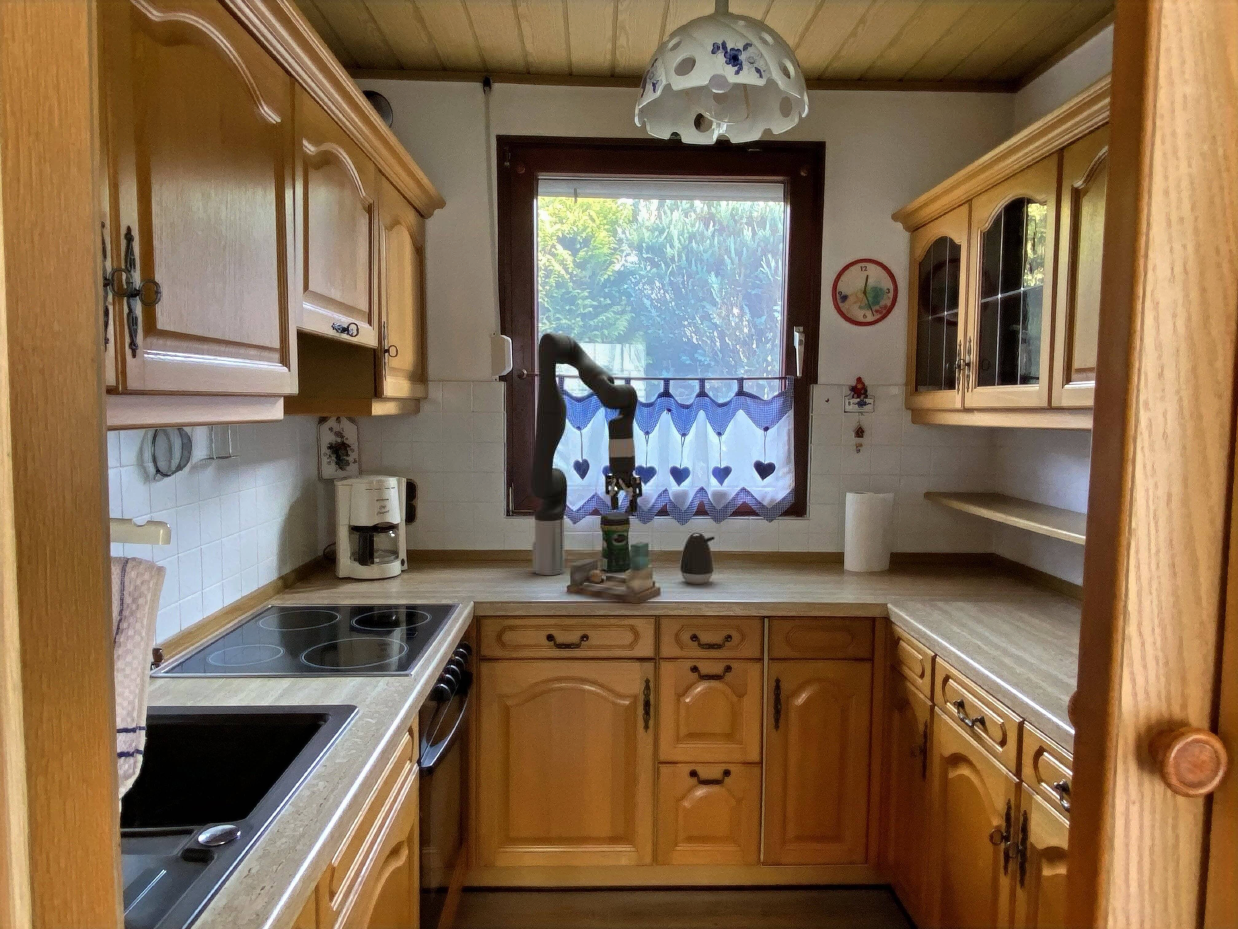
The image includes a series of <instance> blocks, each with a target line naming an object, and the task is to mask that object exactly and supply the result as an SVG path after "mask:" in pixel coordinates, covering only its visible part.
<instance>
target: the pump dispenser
mask: <svg viewBox="0 0 1238 929" xmlns="http://www.w3.org/2000/svg"><path fill="white" fill-rule="evenodd" d="M714 540H715V536H714V535H713V536H712V535H711V536H708V537H705V535H704V534H702V533H701V532H693V533H691V534H690V535H689V536H688V538H687V539H686V541H685V544H684V546H683V549H682V552H681V556H680V562H679V571H680V574H681V576H682V579H683V580H684V581H685V583H686V582H687V583H688V584H690V585H691V584H692V585H704V584H706V583H708V582H709V581H710V580H711V579H712V576H713V573H714V571H715V567H714V565H715V564H714V558H713V554H712V550H711V547H710V544H709V542H712V541H714Z"/></svg>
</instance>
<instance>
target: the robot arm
mask: <svg viewBox="0 0 1238 929" xmlns="http://www.w3.org/2000/svg"><path fill="white" fill-rule="evenodd" d="M537 354H538V355H537V356H538V357H537V358H538V359H537V362H538V364H537V365H538V391H537V407H536V417H535V418H536V419H535V421H536V422H535V437H534V438H535V439H534V448H533V457H532V464H531V470H530V473H529V474H530V475H529V489H530V492H531V494H532V496H533V497H535V499H539V500H541V504H540V505H539V506H538V507H537V508H536V509H535V510H534V542H533V543H532V572H533V573H536V574H537V575H543V576H555V575H561V574H564V573H565V522H564V521H565V513H566V511H567V505H568V504H567V502H568V500H567V499H568V481H567V476H566V475H565V473H564V471H563V470H561V469H560V468H558V467H554V458H555V454H556V451H557V448H558V446H559V445H560V442H561V440H562V439H563V436H564V434H565V430H566V425H567V424H566V423H567V411H568V408H567V405H566V401H565V397H564V396H563V394H562V391H561V390H560V388H559V385H558V382H557V381H558V380H557V365H568V366H571V367H573V368H574V369H576V370H577V372H578V376H579V379H580V380H581V382H582V384H583V385H585V386H586V387H587V388H588V389H589V390H591V391H592V392H594V394H595V395H596V398H597V399H598V400H599V402H600V404H601V405H602V406H603V408H605V409H608V410H618V413H617V416H615V417H614V418H611V419H610V420H608V424H607V426H608V427H607V429H608V449H607V451H608V468H609V469H608V470H609V472H611V473H607V474H605V475H604V485H605V486H604V487H605V488H604V492H605V493H604V494H605V495H607V496H609V498H610V508H611V511H619V509H620V506H619V505H620V504H619V502H620V501H619V494H620V492H621V491H624V493H625V494H627V496H628V499H629V500H628V504H629V506H628V507H629V508H628V509H629V513H631V514H633V513H635V514H636V513H637V512H638V499H639V498H642V497H643V484H642V476H641V475H635V476H634V472H635V471H636V447H635V446H636V445H635V440H634V420H635V417H636V411H637V407H638V406H637V405H638V399H639V398H638V397H639V396H638V393H637V390H636V389H635V387H634V386H633V385H631V384H627V383H626V384H625V383H624V384H623V383H621V384H620V383H619V384H616V382H615V379H614V377H613V375H611V373H609V372H608V371H607V370H606V369H604V368H603V367H601V365H599V364H598V363H596V362H595V360H593V359H592V358H591V356H589V355H588V353H587V352H586V351H585V350H584V349H583V347H582V346H581V345H580V343H578V342H577V340H576V339H575V338H574V337H572V336H571V335H569V334H566V333H565V334H564V333H555V332H546V333H544V334H542V336H541V337H540V339H539V343H538V352H537Z"/></svg>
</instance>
